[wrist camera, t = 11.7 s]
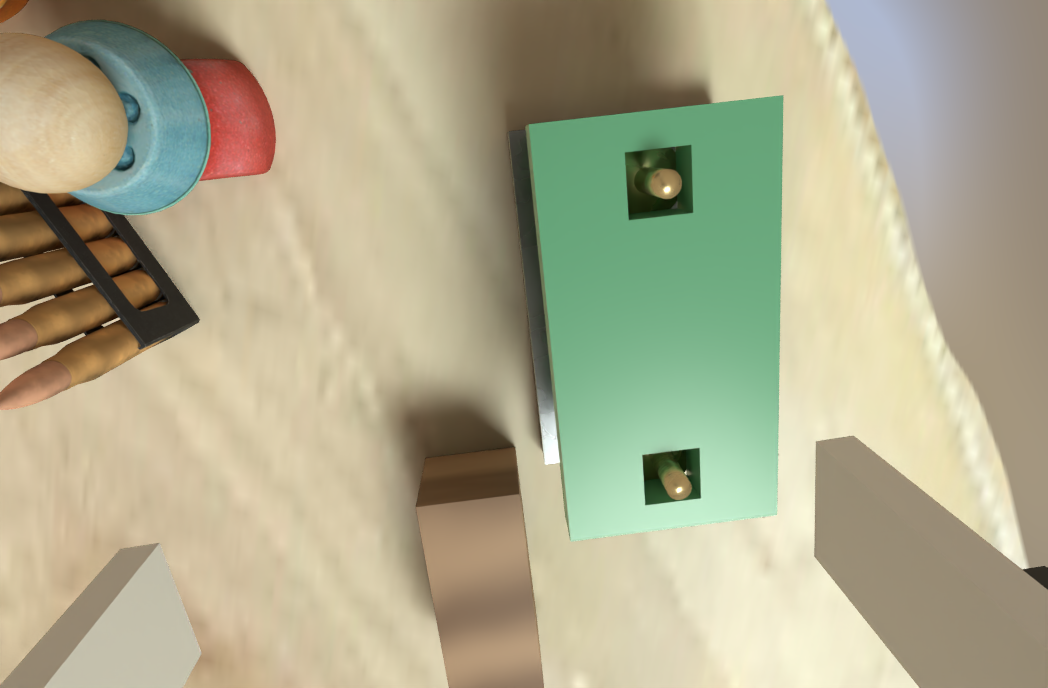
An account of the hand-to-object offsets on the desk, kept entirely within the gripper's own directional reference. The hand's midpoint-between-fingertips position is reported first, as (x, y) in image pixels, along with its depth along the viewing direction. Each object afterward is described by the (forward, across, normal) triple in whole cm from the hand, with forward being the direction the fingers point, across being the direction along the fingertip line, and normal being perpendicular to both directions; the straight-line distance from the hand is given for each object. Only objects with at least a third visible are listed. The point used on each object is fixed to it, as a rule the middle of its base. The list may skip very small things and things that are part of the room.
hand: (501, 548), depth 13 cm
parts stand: (+20, -2, -14) cm, 25 cm away
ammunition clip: (+21, -17, +6) cm, 28 cm away
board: (+14, +7, -1) cm, 16 cm away
